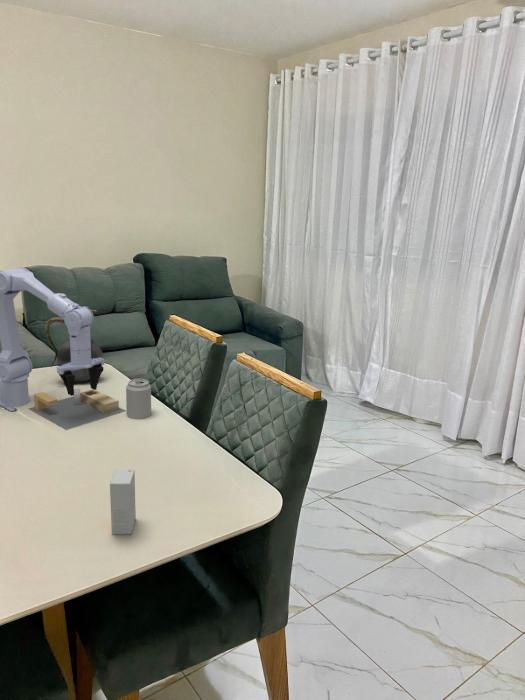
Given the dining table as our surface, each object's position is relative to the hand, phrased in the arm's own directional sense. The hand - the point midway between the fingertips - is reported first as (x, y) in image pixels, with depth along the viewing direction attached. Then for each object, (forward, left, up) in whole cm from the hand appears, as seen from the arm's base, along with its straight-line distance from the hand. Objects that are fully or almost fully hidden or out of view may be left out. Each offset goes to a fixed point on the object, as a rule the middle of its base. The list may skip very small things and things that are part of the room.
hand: (82, 391), depth 163 cm
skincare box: (+54, -25, -9) cm, 60 cm away
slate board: (-6, +2, -9) cm, 11 cm away
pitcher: (-30, +16, -9) cm, 36 cm away
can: (+10, +13, -9) cm, 19 cm away
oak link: (-5, +9, -8) cm, 13 cm away
